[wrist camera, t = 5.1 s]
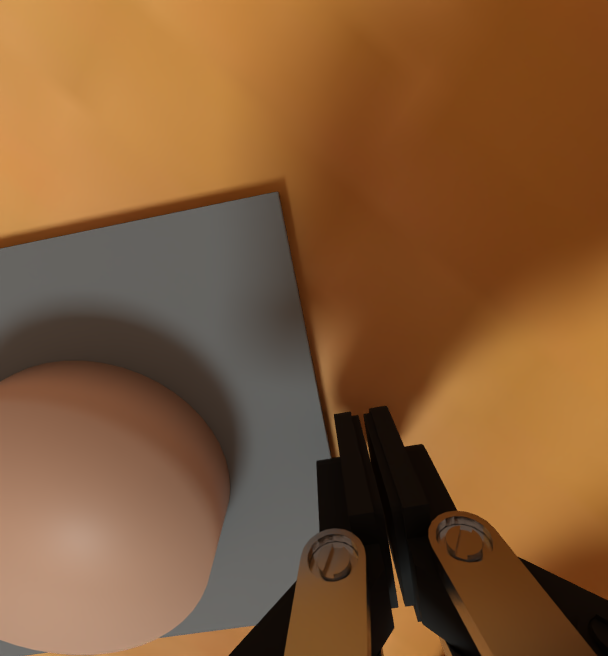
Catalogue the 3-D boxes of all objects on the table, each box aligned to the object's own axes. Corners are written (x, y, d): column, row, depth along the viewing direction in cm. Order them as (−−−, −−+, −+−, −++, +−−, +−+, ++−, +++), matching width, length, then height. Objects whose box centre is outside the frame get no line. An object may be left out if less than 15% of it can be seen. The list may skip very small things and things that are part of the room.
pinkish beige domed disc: (185, 335, 11) (149, 372, 8) (257, 556, 13) (246, 634, 11) (-87, 389, 11) (-196, 438, 9) (35, 590, 14) (-23, 671, 12)
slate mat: (278, 192, 10) (277, 191, 10) (359, 598, 15) (361, 611, 14) (-231, 297, 11) (-255, 301, 11) (-1, 646, 16) (-10, 659, 15)
